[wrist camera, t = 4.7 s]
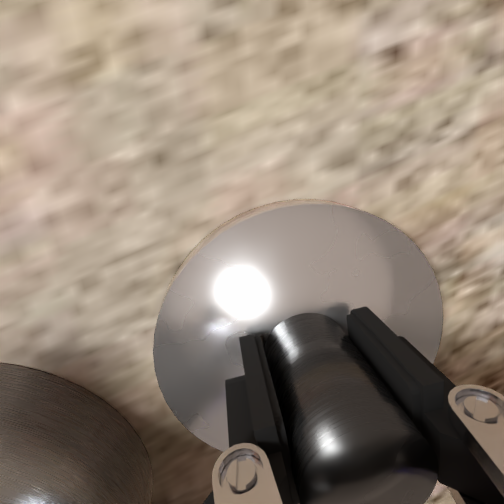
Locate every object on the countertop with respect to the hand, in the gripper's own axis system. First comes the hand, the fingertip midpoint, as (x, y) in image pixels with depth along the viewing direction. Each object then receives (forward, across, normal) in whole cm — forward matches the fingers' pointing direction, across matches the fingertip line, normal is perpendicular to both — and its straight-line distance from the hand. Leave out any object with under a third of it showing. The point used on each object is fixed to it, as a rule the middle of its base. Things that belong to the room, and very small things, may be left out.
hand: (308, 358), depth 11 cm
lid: (+2, 0, 0) cm, 2 cm away
